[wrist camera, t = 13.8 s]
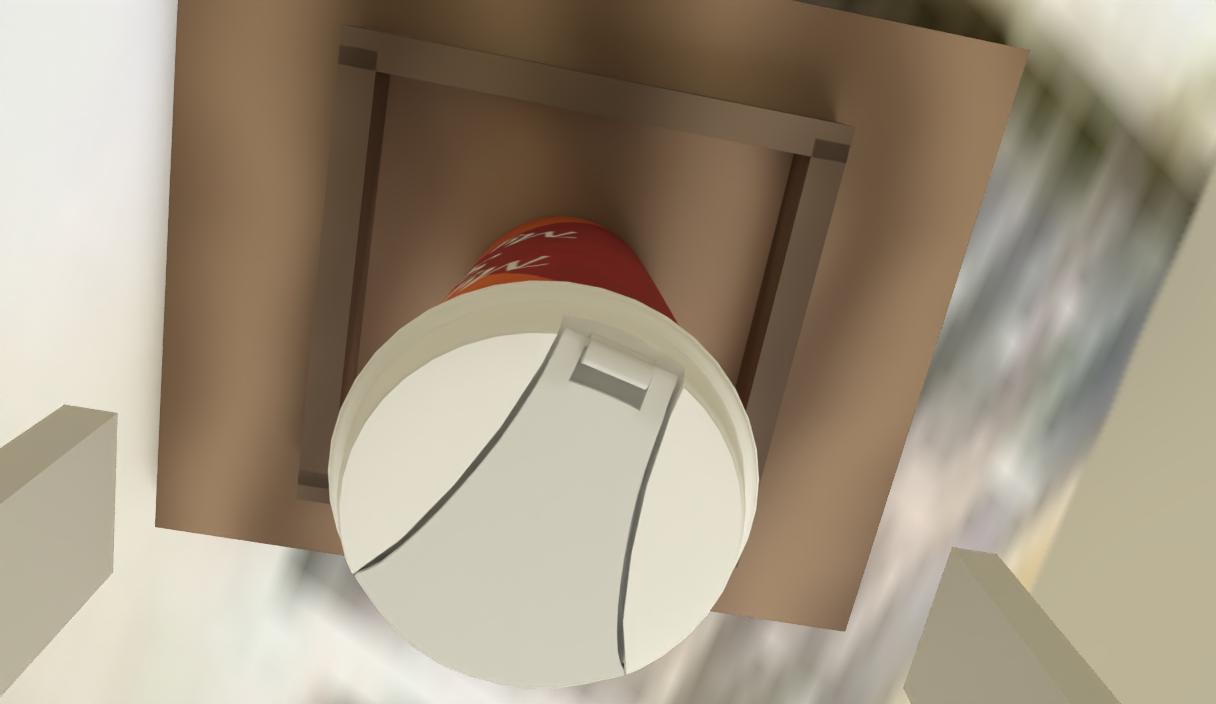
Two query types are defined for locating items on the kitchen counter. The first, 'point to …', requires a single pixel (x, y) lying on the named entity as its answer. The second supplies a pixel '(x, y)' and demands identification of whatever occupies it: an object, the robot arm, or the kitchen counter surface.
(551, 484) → the paper cup
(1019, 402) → the kitchen counter surface
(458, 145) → the assembly base
